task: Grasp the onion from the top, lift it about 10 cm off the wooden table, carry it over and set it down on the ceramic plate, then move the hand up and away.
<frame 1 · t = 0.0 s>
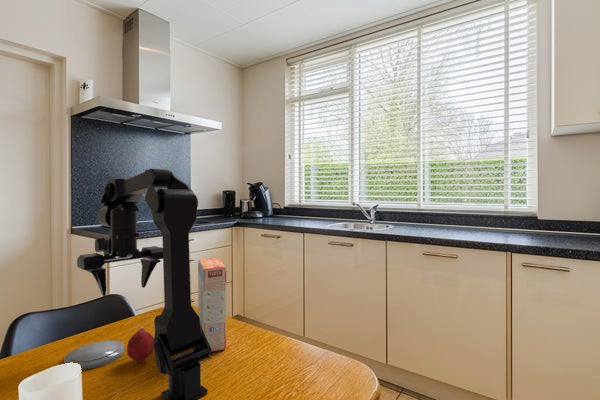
hand: (124, 291, 80), 15 cm above the table, tool pointing down, fingers open, 9 cm apart
plate: (95, 356, 76), on the table
onion: (141, 362, 74), on the table
cracker box: (211, 341, 85), on the table
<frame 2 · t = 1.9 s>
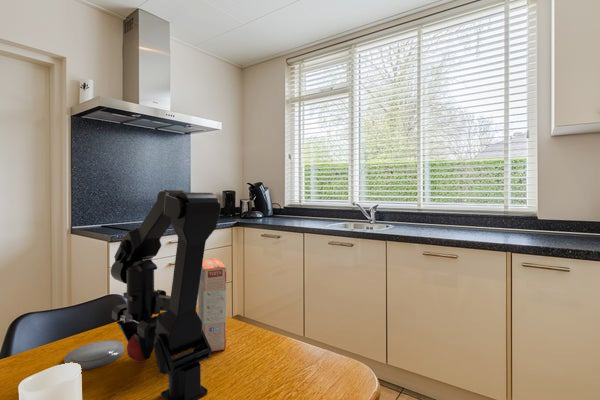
hand: (141, 354, 74), 2 cm above the table, tool pointing down, fingers closed on onion, 6 cm apart
onion: (141, 362, 74), on the table, touching gripper
everything else where it was.
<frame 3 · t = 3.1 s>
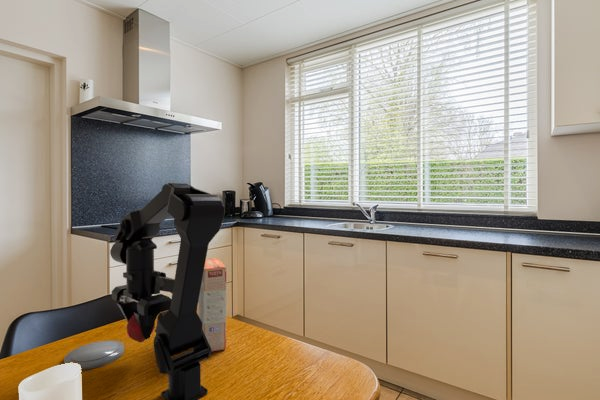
hand: (140, 334, 74), 6 cm above the table, tool pointing down, fingers closed on onion, 6 cm apart
onion: (141, 343, 74), point 4 cm above the table, touching gripper
everything else where it was.
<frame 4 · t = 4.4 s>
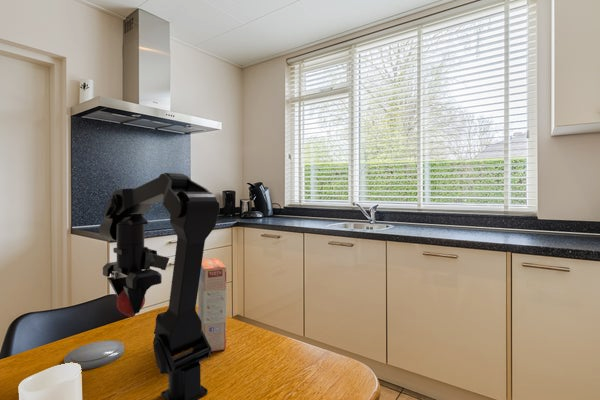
hand: (130, 309, 74), 12 cm above the table, tool pointing down, fingers closed on onion, 6 cm apart
onion: (131, 317, 74), point 10 cm above the table, touching gripper
everything else where it was.
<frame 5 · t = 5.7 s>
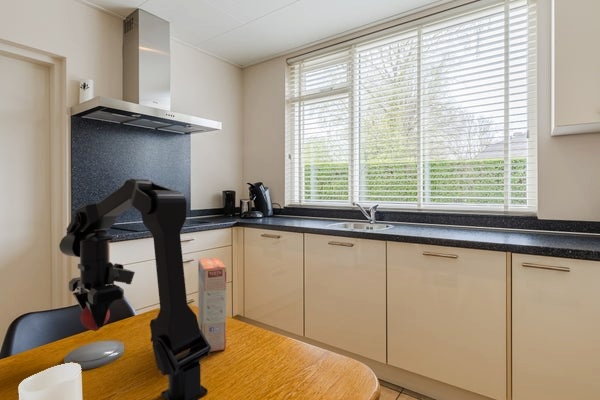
hand: (95, 324, 76), 8 cm above the table, tool pointing down, fingers closed on onion, 6 cm apart
onion: (95, 331, 76), point 6 cm above the table, touching gripper
everything else where it was.
when the fingers open (4 cm above the table, at t = 6.7 s): onion drops 1 cm, resting on plate.
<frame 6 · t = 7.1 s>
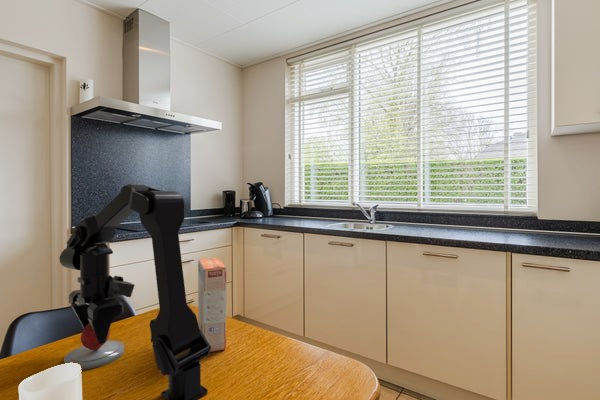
hand: (95, 337, 76), 5 cm above the table, tool pointing down, fingers open, 9 cm apart
onion: (95, 351, 76), point 1 cm above the table, touching plate
everything else where it was.
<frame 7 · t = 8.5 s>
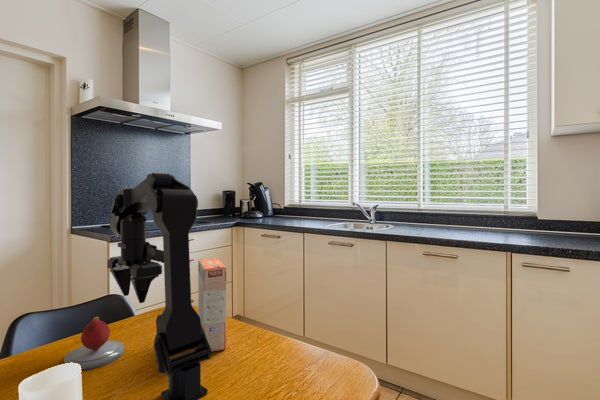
hand: (133, 299, 82), 12 cm above the table, tool pointing down, fingers open, 9 cm apart
nothing on the table moved.
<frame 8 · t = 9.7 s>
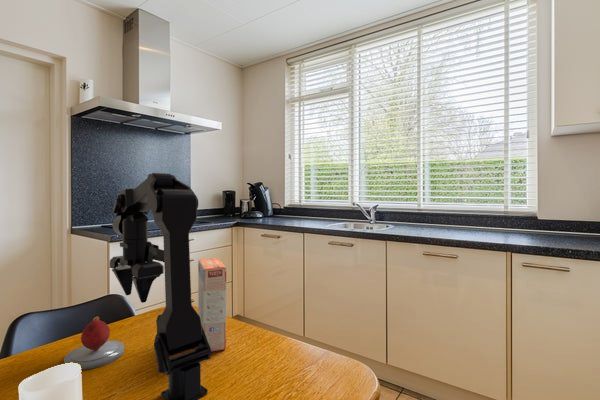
hand: (135, 298, 82), 12 cm above the table, tool pointing down, fingers open, 9 cm apart
nothing on the table moved.
at the end: onion inside the target area on the plate (0.1 cm from its centre), point 1.3 cm above the plate's base; onion touching plate; the gripper is holding nothing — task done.
